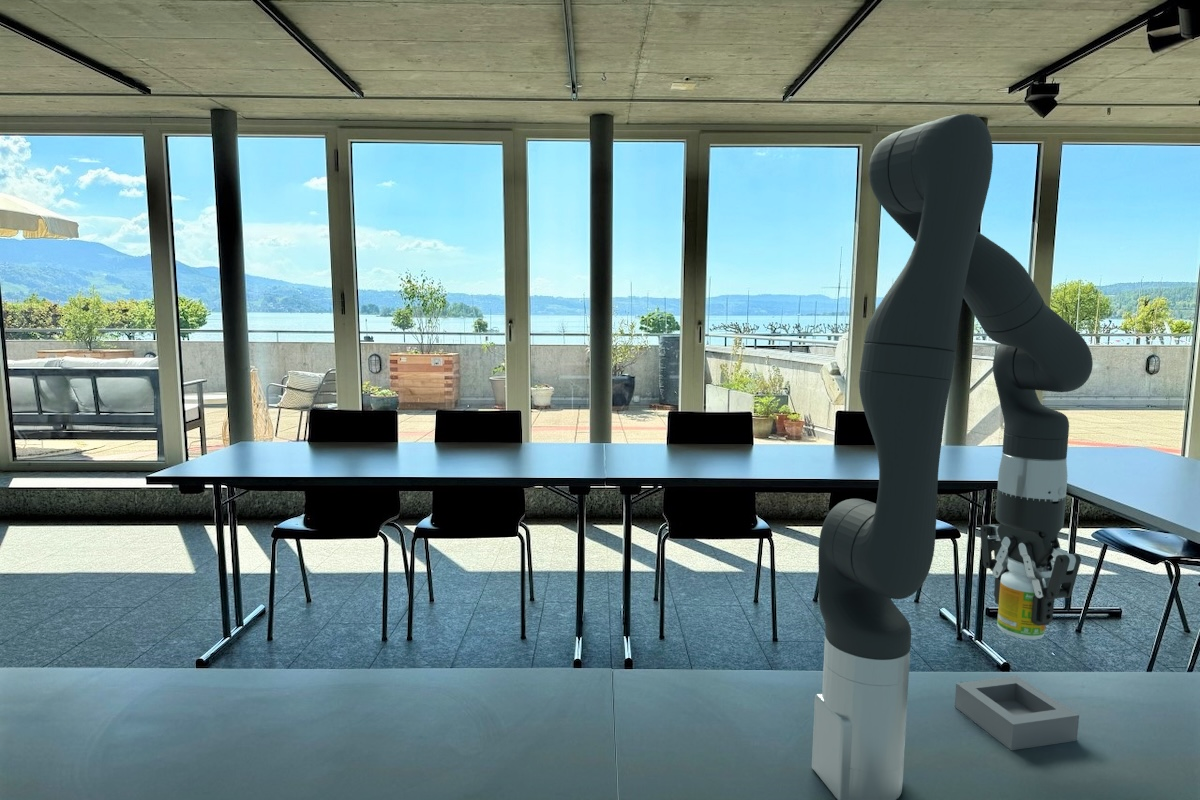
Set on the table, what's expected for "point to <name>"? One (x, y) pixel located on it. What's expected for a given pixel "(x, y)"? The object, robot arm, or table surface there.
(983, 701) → the socket mount
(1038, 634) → the supplement bottle
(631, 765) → the table surface
